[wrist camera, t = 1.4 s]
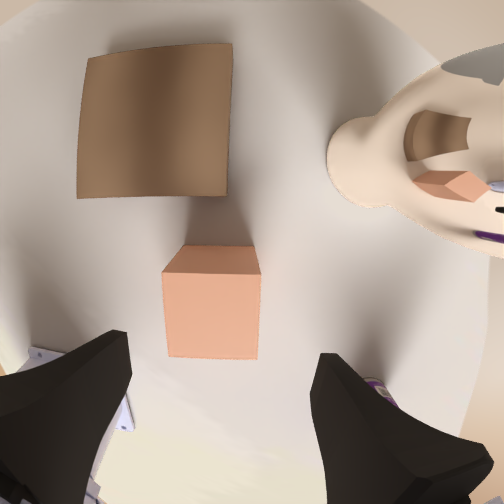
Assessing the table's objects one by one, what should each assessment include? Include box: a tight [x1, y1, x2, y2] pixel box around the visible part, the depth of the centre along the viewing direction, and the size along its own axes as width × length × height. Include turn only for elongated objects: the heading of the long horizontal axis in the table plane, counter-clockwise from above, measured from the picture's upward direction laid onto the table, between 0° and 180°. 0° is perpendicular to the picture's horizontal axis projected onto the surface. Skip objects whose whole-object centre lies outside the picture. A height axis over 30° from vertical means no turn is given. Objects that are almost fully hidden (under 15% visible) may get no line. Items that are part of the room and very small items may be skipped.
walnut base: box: [77, 44, 233, 199], centre depth 16 cm, size 9×9×3 cm
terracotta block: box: [161, 245, 261, 360], centre depth 17 cm, size 4×4×6 cm
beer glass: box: [327, 43, 504, 259], centre depth 11 cm, size 7×7×15 cm
